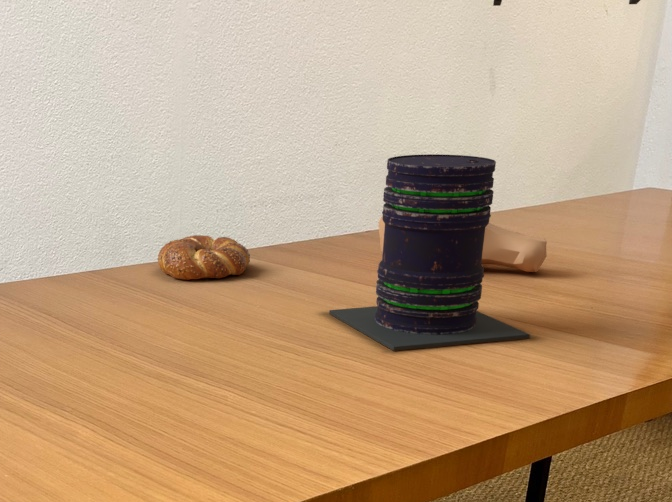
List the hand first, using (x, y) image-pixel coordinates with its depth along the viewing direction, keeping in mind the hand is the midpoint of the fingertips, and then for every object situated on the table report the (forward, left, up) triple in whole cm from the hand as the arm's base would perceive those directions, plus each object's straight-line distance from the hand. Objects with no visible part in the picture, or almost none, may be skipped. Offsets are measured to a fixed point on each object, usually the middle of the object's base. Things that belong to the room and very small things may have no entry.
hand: (565, 3), depth 110 cm
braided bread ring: (+14, +35, -29) cm, 47 cm away
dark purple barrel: (-16, +22, -28) cm, 39 cm away
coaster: (-16, +22, -29) cm, 39 cm away
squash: (+7, +5, -29) cm, 30 cm away
